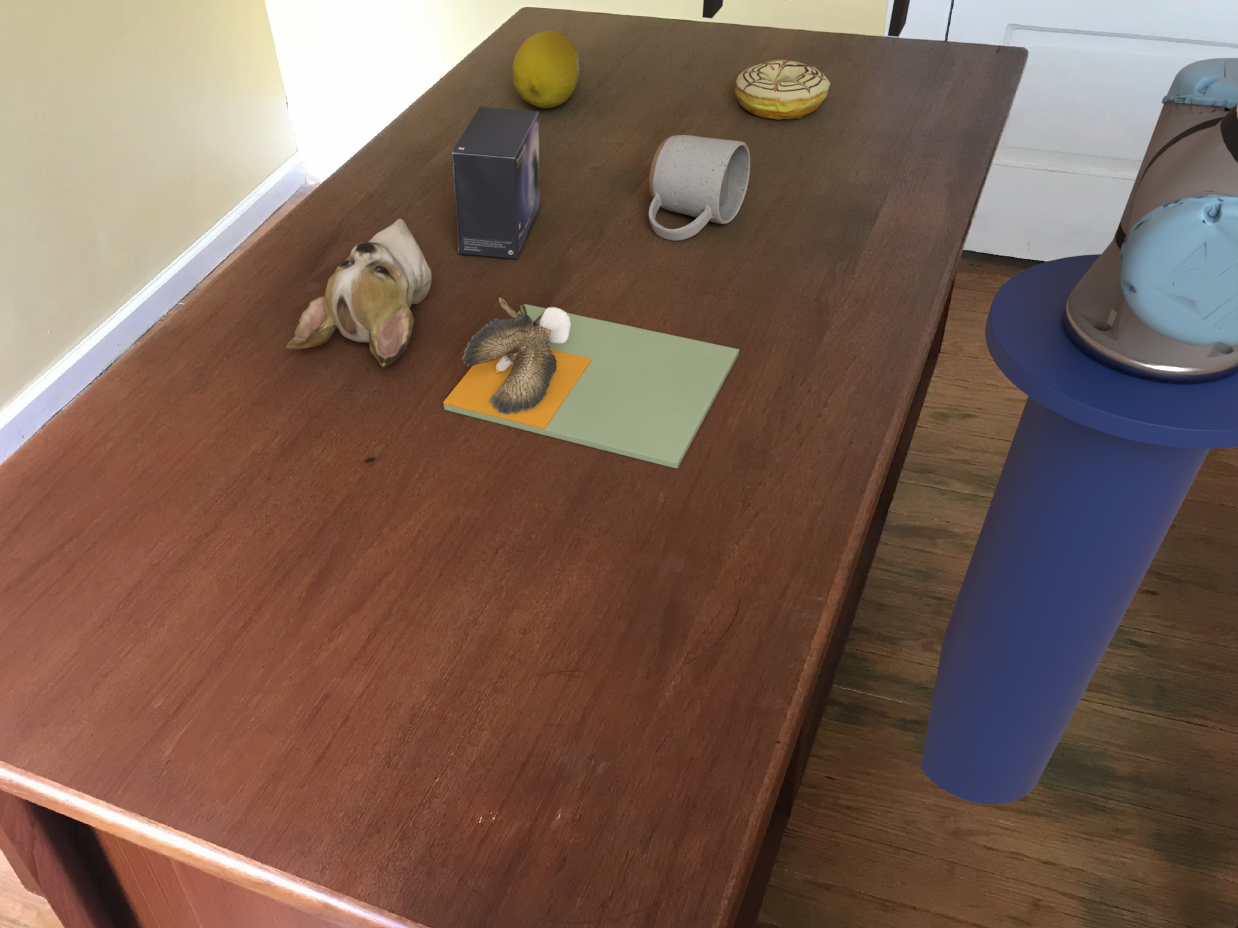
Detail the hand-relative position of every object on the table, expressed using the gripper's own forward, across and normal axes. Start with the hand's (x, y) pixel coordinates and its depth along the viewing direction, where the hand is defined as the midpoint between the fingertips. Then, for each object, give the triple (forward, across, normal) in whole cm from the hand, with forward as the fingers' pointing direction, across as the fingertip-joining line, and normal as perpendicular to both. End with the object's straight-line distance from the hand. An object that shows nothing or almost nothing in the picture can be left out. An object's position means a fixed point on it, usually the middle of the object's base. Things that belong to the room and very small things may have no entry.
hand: (801, 21), depth 81 cm
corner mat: (+24, -10, -16) cm, 31 cm away
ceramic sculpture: (+24, -31, -16) cm, 43 cm away
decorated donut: (+25, -10, +42) cm, 50 cm away
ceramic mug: (+25, -11, +13) cm, 30 cm away
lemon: (+24, -36, +34) cm, 55 cm away
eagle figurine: (+24, -16, -18) cm, 34 cm away
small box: (+24, -28, +4) cm, 38 cm away
